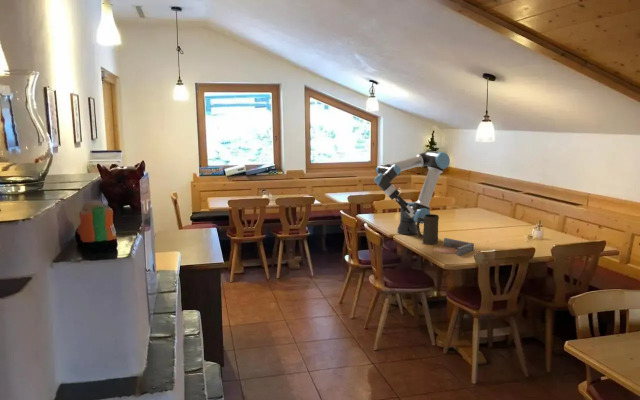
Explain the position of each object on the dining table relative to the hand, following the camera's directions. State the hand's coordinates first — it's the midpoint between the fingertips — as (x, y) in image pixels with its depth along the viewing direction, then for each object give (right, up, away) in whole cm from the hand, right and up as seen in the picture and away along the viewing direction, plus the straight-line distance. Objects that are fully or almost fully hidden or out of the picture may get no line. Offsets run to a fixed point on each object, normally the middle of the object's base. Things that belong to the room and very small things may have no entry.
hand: (413, 214), depth 352 cm
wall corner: (+23, -23, -17) cm, 37 cm away
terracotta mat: (+18, -23, -19) cm, 35 cm away
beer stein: (+10, -20, +1) cm, 22 cm away
